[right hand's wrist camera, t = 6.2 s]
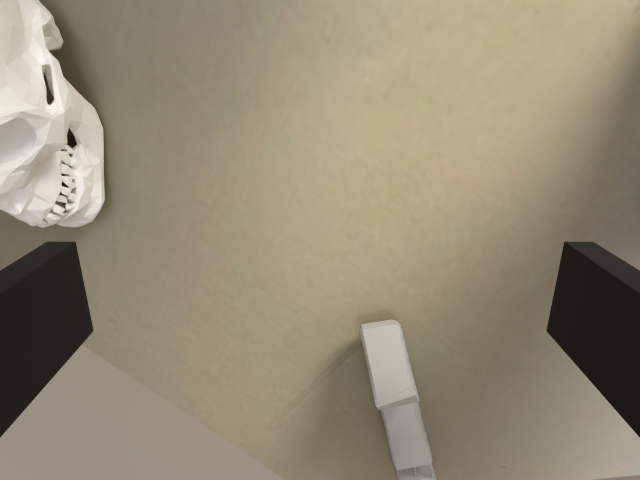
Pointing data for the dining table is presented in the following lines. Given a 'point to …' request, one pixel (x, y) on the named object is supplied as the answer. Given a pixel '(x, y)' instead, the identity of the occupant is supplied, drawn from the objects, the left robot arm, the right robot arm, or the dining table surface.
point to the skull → (44, 126)
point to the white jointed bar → (397, 399)
